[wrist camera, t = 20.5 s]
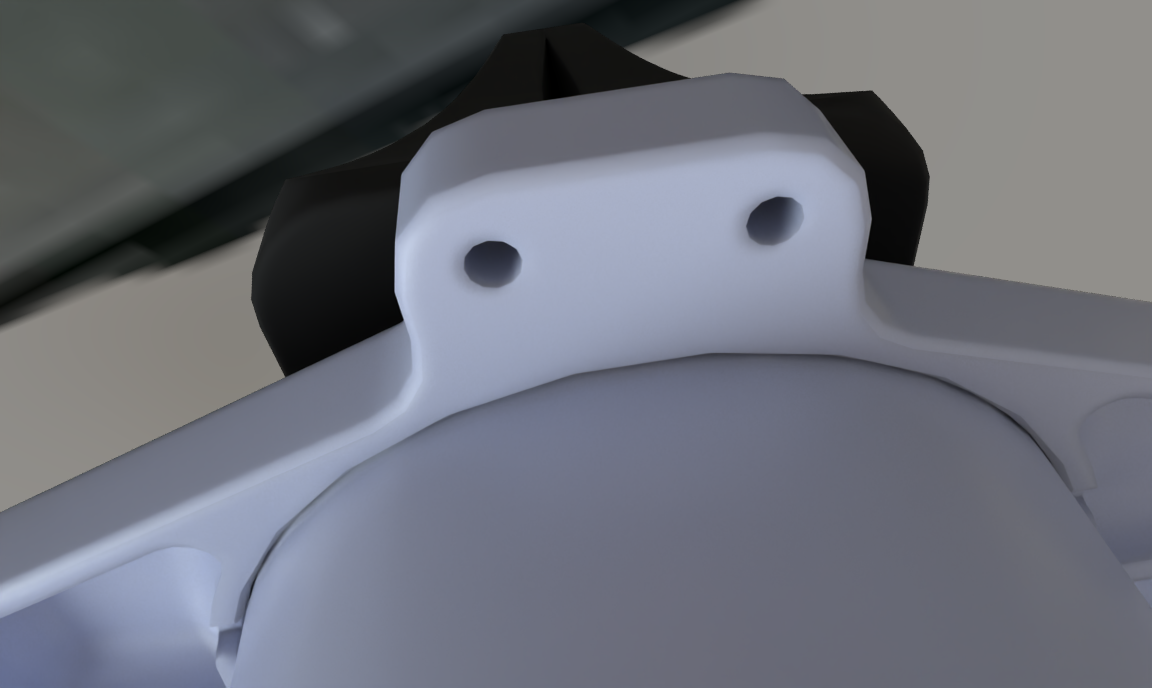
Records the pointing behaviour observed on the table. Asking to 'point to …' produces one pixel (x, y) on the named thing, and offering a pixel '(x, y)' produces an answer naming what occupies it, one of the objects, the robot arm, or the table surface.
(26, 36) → the table surface
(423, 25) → the table surface
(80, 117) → the table surface
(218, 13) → the table surface
